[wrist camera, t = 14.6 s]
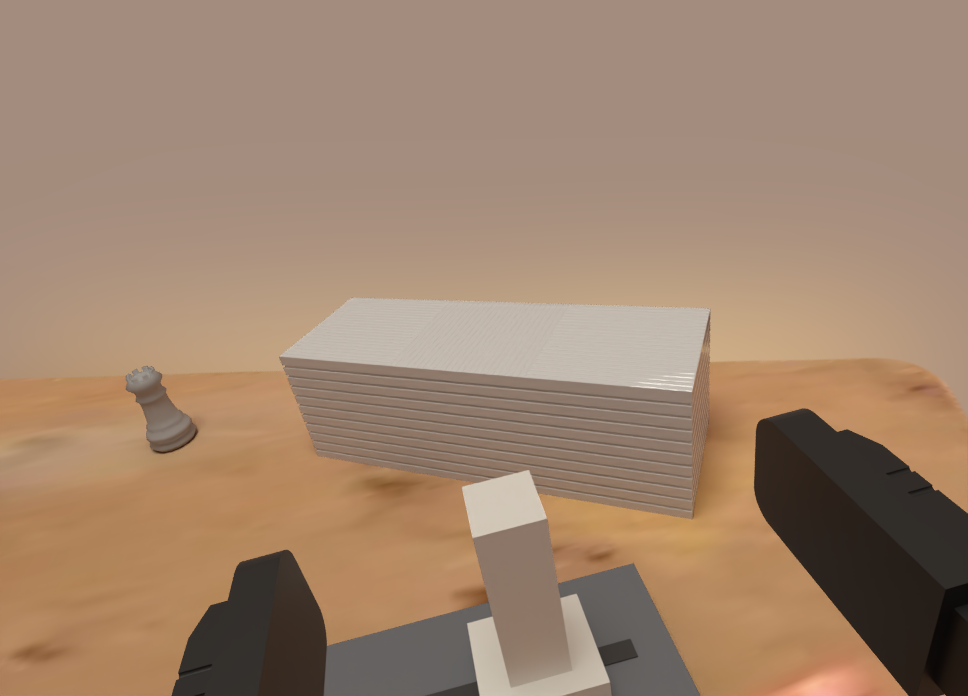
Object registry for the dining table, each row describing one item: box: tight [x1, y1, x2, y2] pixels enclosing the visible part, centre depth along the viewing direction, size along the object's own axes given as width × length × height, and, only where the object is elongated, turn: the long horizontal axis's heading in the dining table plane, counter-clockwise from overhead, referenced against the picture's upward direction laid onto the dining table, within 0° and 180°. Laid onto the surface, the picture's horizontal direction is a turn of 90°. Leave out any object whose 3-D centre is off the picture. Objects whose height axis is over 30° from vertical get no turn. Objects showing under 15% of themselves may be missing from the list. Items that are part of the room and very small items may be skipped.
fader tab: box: [462, 470, 612, 696], centre depth 28 cm, size 6×5×12 cm
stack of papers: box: [279, 298, 710, 519], centre depth 49 cm, size 32×11×11 cm, turn 67°
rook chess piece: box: [126, 366, 196, 452], centre depth 59 cm, size 4×4×8 cm
